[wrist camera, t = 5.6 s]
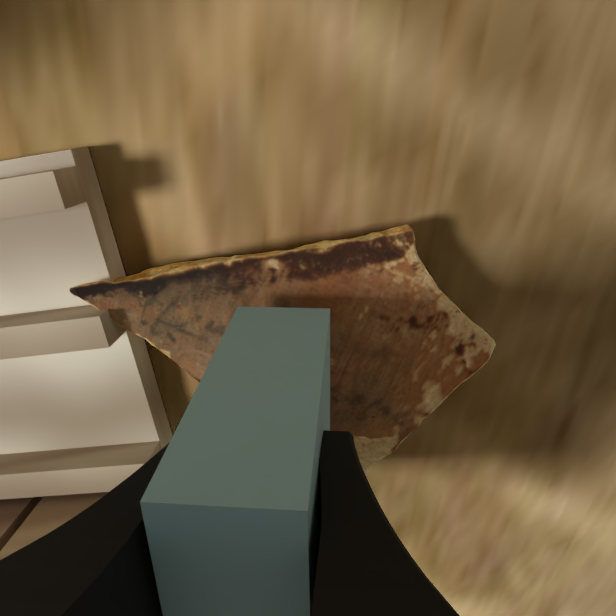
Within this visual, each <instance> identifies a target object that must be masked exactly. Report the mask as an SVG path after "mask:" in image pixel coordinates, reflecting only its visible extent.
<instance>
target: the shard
mask: <svg viewBox="0 0 616 616" xmlns="http://www.w3.org/2000/svg"><path fill="white" fill-rule="evenodd" d="M69 289H70V292H71V293H72V294H73V295H74V296H77V297H79V298H81V299H82V300H84V301H85V302H87V303H89V304H91V305H92V306H94V307H95V308H97V309H98V310H105V309H108V311H109V315H110V318H111V319H112V320H113V321H114V322H116V323H117V324H118V325H119V326H121V327H124V328H125V329H126V330H129V331H130V332H132V333H133V334H135V335H138V336H140V337H142V338H144V339H146V340H147V341H148V342H149V343H150V344H151V345H152V346H154V347H156V348H157V349H158V350H160V351H161V352H162V353H164V354H165V355H167V356H168V357H169V358H170V359H172V360H173V361H174V362H176V363H177V364H178V365H179V366H180V367H182V368H183V369H185V370H186V371H187V372H188V373H189V374H190V375H191V376H192V377H193V378H195V379H196V380H198V381H199V382H200V381H201V379H202V377H203V375H204V373H205V371H206V369H207V367H208V365H209V363H210V361H211V359H212V357H213V355H214V353H215V351H216V349H217V347H218V345H219V343H220V341H221V339H222V337H223V335H224V333H225V331H226V329H227V327H228V325H229V323H230V321H231V319H232V317H233V315H234V313H235V311H236V309H237V307H283V308H330V431H349V432H350V433H351V434H352V435H353V436H354V443H355V448H356V451H357V455H358V458H359V460H360V463H361V466H362V469H363V471H366V470H367V469H369V468H370V467H371V466H372V465H373V464H375V463H376V462H378V461H379V460H380V459H382V458H384V457H386V456H387V455H389V454H390V453H392V452H393V451H394V450H395V449H397V448H398V447H399V445H400V444H401V442H403V441H404V440H405V439H406V438H407V437H408V436H409V435H410V434H411V433H412V432H414V431H415V430H416V429H417V428H418V427H419V425H420V423H421V421H422V420H423V419H424V418H426V417H427V416H428V415H430V414H431V413H432V412H433V411H434V410H435V409H436V408H437V407H438V406H439V405H440V404H441V403H442V402H443V401H444V400H445V399H446V398H447V397H448V396H449V395H450V394H451V393H452V392H453V391H454V390H455V389H456V388H457V387H458V386H459V385H460V384H461V383H463V382H464V381H466V380H467V379H469V378H470V377H471V376H472V375H474V374H475V373H476V372H477V371H478V370H479V369H481V368H482V367H483V366H484V365H485V364H486V363H487V362H488V360H489V359H490V358H491V355H492V352H493V350H494V348H495V346H496V344H495V341H494V340H493V339H492V338H491V337H490V336H489V335H488V334H487V333H486V332H485V331H484V330H483V329H482V328H481V327H479V326H478V325H476V324H475V323H474V322H472V321H471V320H470V319H469V318H468V317H467V316H466V315H465V314H464V313H463V312H462V311H461V310H460V309H459V308H458V307H457V306H456V305H455V304H454V303H453V302H452V301H450V300H449V298H448V297H447V296H446V295H445V294H444V293H443V292H442V291H441V290H440V289H439V288H438V286H437V285H436V283H435V281H434V280H433V278H432V277H431V276H430V274H429V273H428V271H427V270H426V268H425V266H424V264H423V263H422V261H421V260H420V258H419V256H418V254H417V251H416V248H415V236H414V231H413V230H412V228H411V227H410V226H409V225H407V224H406V225H403V226H399V227H394V228H390V229H387V230H384V231H379V232H372V233H370V234H367V235H364V236H359V237H356V238H352V239H341V240H335V241H329V240H324V241H320V242H316V243H313V244H308V245H304V246H301V247H298V248H295V249H292V250H286V251H271V252H265V253H258V254H247V255H235V256H232V257H215V258H208V259H202V260H198V261H187V262H178V263H172V264H168V265H164V266H160V267H154V268H149V269H146V270H144V271H142V272H141V273H138V274H134V275H130V276H124V277H119V278H117V279H116V280H115V281H114V282H111V281H106V280H102V281H98V282H91V283H85V284H81V285H78V286H75V287H72V288H69Z"/></svg>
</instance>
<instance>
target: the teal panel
mask: <svg viewBox="0 0 616 616" xmlns="http://www.w3.org/2000/svg"><path fill="white" fill-rule="evenodd" d="M323 430H328V431H330V308H283V307H237V309H236V311H235V313H234V315H233V317H232V319H231V321H230V323H229V325H228V327H227V329H226V331H225V333H224V335H223V337H222V339H221V341H220V343H219V345H218V347H217V349H216V351H215V353H214V355H213V357H212V359H211V361H210V363H209V365H208V367H207V369H206V371H205V373H204V375H203V377H202V379H201V381H200V383H199V385H198V387H197V389H196V391H195V393H194V395H193V397H192V399H191V401H190V403H189V405H188V407H187V409H186V411H185V413H184V415H183V417H182V419H181V421H180V423H179V425H178V427H177V429H176V431H175V433H174V435H173V437H172V439H171V441H170V443H169V445H168V447H167V449H166V451H165V453H164V455H163V457H162V459H161V461H160V463H159V465H158V467H157V469H156V471H155V473H154V475H153V477H152V479H151V481H150V483H149V485H148V487H147V489H146V491H145V493H144V495H143V497H142V499H141V501H140V505H141V510H142V515H143V520H144V525H145V530H146V535H147V540H148V545H149V550H150V555H151V560H152V565H153V570H154V574H155V579H156V584H157V589H158V594H159V599H160V604H161V609H162V614H163V616H311V610H312V602H313V595H314V587H315V578H316V570H317V561H318V553H319V543H320V449H321V442H322V436H323Z"/></svg>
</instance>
